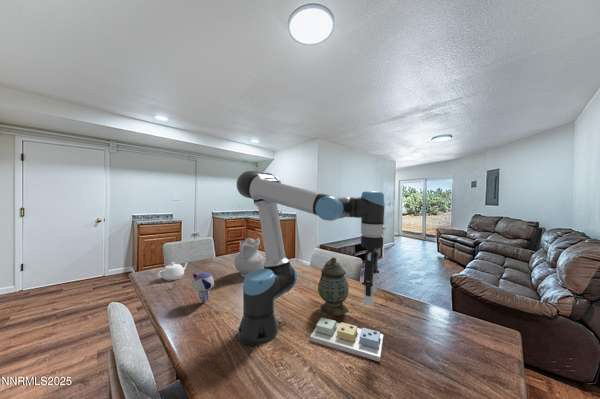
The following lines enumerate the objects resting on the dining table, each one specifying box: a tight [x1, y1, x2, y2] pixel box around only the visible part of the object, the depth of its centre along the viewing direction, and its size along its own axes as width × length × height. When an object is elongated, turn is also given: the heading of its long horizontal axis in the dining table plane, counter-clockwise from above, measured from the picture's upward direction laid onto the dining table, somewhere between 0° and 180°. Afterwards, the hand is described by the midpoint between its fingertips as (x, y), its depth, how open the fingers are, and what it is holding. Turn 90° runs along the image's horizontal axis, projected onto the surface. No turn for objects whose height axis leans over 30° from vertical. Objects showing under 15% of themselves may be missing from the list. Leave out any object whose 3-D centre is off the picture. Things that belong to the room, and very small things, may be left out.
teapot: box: [157, 261, 189, 282], centre depth 144 cm, size 20×12×10 cm, turn 150°
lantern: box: [317, 257, 350, 316], centre depth 105 cm, size 14×14×25 cm
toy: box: [192, 271, 215, 304], centre depth 111 cm, size 11×10×15 cm
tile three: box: [360, 327, 381, 349], centre depth 79 cm, size 6×6×3 cm
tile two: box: [337, 322, 358, 342], centre depth 82 cm, size 6×6×3 cm
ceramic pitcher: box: [233, 237, 265, 278], centre depth 151 cm, size 22×20×25 cm
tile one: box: [315, 316, 337, 336], centre depth 85 cm, size 6×6×3 cm
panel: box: [309, 322, 384, 363], centre depth 82 cm, size 24×13×2 cm, turn 65°
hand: (370, 297), depth 79 cm, fingers open, 12 cm apart
